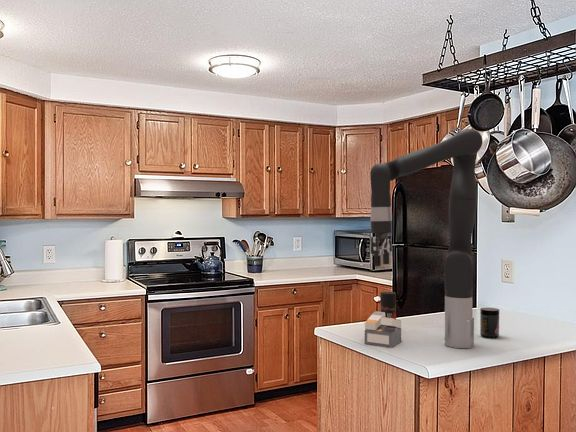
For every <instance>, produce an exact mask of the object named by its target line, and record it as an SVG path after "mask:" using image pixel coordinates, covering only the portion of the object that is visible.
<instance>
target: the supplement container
mask: <svg viewBox="0 0 576 432" xmlns="http://www.w3.org/2000/svg"><path fill="white" fill-rule="evenodd" d="M479 311H480V312H479V314H480V321H479V324H480V327H479V329H480V330H479V332H480V333H479V335H480V336H481V338H484V339H490V340H495V339H498V338H499V337H500V308H497V307H480V308H479Z"/></svg>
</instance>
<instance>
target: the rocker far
mask: <svg viewBox="0 0 576 432" xmlns="http://www.w3.org/2000/svg"><path fill="white" fill-rule="evenodd" d="M382 317H385V313H384V312H381V311H377V310H376V311H374V312H373V313H371V315H370V316H369V317H368V318H367V319H366V321H364V330H366V329H368V330H377V328H378V327H379V326H380V325H381V318H382Z"/></svg>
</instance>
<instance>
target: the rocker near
mask: <svg viewBox="0 0 576 432" xmlns="http://www.w3.org/2000/svg"><path fill="white" fill-rule="evenodd" d="M381 325H386V326H393V327H399V328H402V320H401V319H397V318H396V319H394V318H387V317H382V318H381Z"/></svg>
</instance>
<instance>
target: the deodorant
mask: <svg viewBox="0 0 576 432" xmlns="http://www.w3.org/2000/svg"><path fill="white" fill-rule="evenodd" d="M380 312H384V313H385V317H387V318H394V319H397V292H395V291H380ZM381 326H386V325H381ZM392 327H393V326H392Z"/></svg>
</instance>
